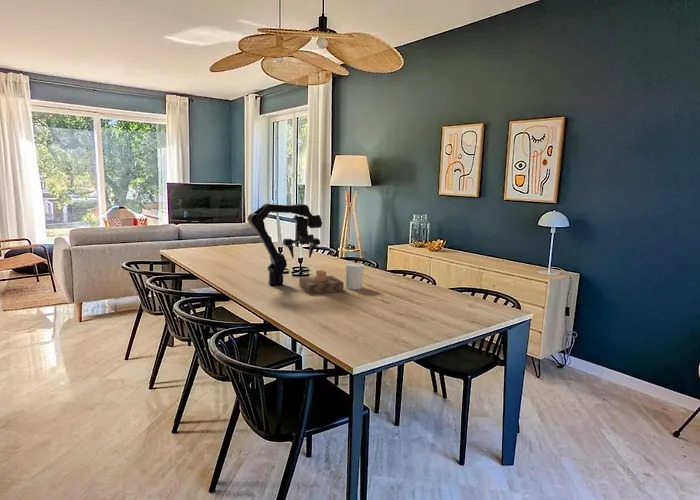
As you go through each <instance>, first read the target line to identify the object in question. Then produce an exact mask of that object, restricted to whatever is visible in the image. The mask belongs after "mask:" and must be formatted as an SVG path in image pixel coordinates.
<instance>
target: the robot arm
mask: <svg viewBox="0 0 700 500" xmlns="http://www.w3.org/2000/svg"><path fill="white" fill-rule="evenodd" d="M270 213H284V214H285V213H286V214H287V213H288V214H295V215H294V216H293V217H292V220H294V221H296V226H295V227H296V228H295V232H296V233H295V239H292V238H284V239H282V245H283V246H286V247H287V249H288V250H289V254H290V256H291V258H292V259H294V258H295V257H294V255H295V254H294V245H295V244H300V245H308V246H309V248H308V257H309V259H311V257H312V254H313V253H314V250H315V248H316V247H318V246H319V245H321V240H320V238H318V237H314V234H309V230H308V228H309V229H320V228H321V227H322V225H323V221H322V218H321V215H319V214H315V215H313V214H312V213H311V210H310V207H309V206H308V205H307V204H303V203H296V204H291V205H289V204H288V205H287V204H286V205H285V204H275V203H274V204H272V203H271V204H270V203H264V204H263V205H262V206H260V208H258V209H257V210H255V211H254V212H252V213H250V214H249V215H248V216H247V222H248V224H249V225H250V226H251V227H252V229H253V230H255V232H256V233H257V234H258V236H259V238H260V240H261V242H262V243H263V245H264V247H265V249H266V251H267V253H268V254H269V259H270V264H269V265H268V266H267V271H268V282H267V284H268V285H269V287H274V286H276V287H279V286H284V271H285V270H286V268H287V266H288V264H287V262H288V260H287V259H286V257H285V254H283V253H281V252H278V251H277V248H276V247H275V244H274V243H273V240H272V239H271V237H270V235H269V233H268V231H267V230H266V226H265V225H266V224H265V221H264V220H266V218H267V217H268V215H269V214H270ZM293 244H294V245H293Z"/></svg>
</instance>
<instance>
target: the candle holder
mask: <svg viewBox="0 0 700 500" xmlns="http://www.w3.org/2000/svg"><path fill="white" fill-rule="evenodd" d="M344 270H345V271H344V272H345V275H344V277H345V278H344V279H345V288H346V289H347V290H355V291H356V290H357V291H358V290H361V289H362V288H363V279H364V270H365V264H364V263H360V262H347V263H345V264H344Z"/></svg>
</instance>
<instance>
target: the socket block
mask: <svg viewBox="0 0 700 500" xmlns="http://www.w3.org/2000/svg"><path fill="white" fill-rule="evenodd" d="M298 280H299V285H298V287H300V288H301V289H302V290H303V291H304V292H306V294H307V295H314V294H328V293H341V292H344V289H345V287H344V284H345V283H344V282H343V281H342V280H341V279H339V278H338V277H336V276H334V275H326V281H321V282H317V281H316V275H315V276H299V279H298Z"/></svg>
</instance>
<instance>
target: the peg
mask: <svg viewBox="0 0 700 500" xmlns="http://www.w3.org/2000/svg"><path fill="white" fill-rule="evenodd" d="M315 273H316V274H315V276H316V281H317V282H321V281H326V276H327V271H325V270H323V269H322V270H321V269H320V270H316V271H315Z"/></svg>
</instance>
